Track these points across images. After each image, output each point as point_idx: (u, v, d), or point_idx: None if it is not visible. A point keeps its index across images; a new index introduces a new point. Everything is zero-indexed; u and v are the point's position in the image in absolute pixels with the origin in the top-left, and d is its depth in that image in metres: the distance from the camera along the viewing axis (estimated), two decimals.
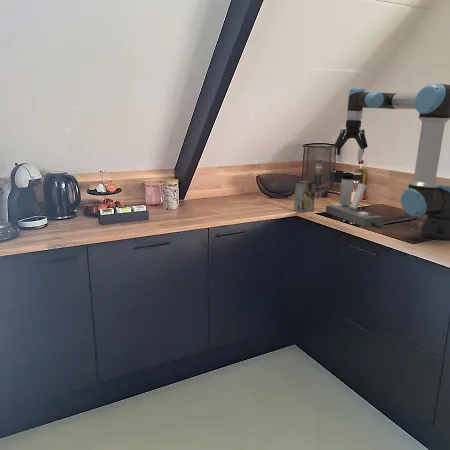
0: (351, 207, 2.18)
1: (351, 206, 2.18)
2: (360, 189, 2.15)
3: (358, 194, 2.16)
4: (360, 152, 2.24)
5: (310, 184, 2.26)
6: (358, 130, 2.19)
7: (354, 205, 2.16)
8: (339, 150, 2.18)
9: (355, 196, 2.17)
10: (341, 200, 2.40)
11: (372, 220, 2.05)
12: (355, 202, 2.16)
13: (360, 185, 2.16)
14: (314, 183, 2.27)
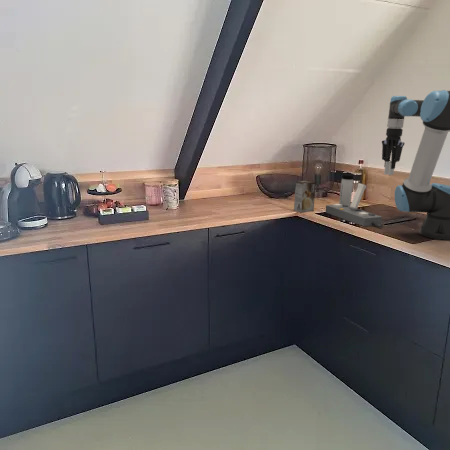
0: (351, 207, 2.18)
1: (351, 206, 2.18)
2: (360, 189, 2.15)
3: (358, 194, 2.16)
4: None
5: (310, 184, 2.26)
6: (396, 139, 2.11)
7: (354, 205, 2.16)
8: (385, 163, 2.19)
9: (355, 196, 2.17)
10: (341, 200, 2.40)
11: (372, 220, 2.05)
12: (355, 202, 2.16)
13: (360, 185, 2.16)
14: (314, 183, 2.27)
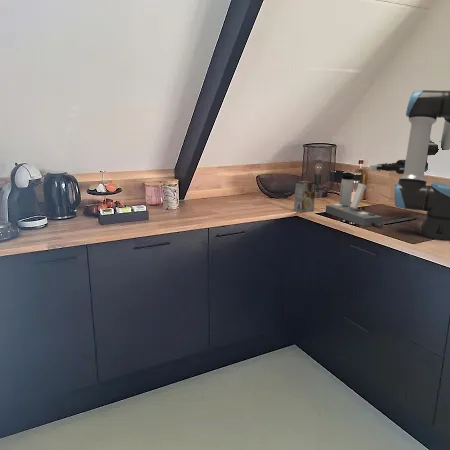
0: (351, 207, 2.18)
1: (351, 206, 2.18)
2: (360, 189, 2.15)
3: (358, 194, 2.16)
4: None
5: (310, 184, 2.26)
6: (402, 165, 2.20)
7: (354, 205, 2.16)
8: None
9: (355, 196, 2.17)
10: (341, 200, 2.40)
11: (372, 220, 2.05)
12: (355, 202, 2.16)
13: (360, 185, 2.16)
14: (314, 183, 2.27)
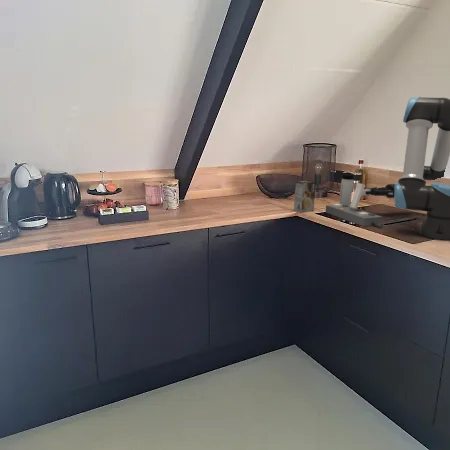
0: (351, 207, 2.18)
1: (351, 206, 2.18)
2: (359, 189, 2.15)
3: (357, 194, 2.15)
4: None
5: (310, 184, 2.26)
6: (391, 190, 2.21)
7: (354, 205, 2.16)
8: (366, 190, 2.21)
9: (354, 196, 2.17)
10: (341, 200, 2.40)
11: (372, 220, 2.05)
12: (355, 202, 2.16)
13: (359, 185, 2.15)
14: (314, 183, 2.27)
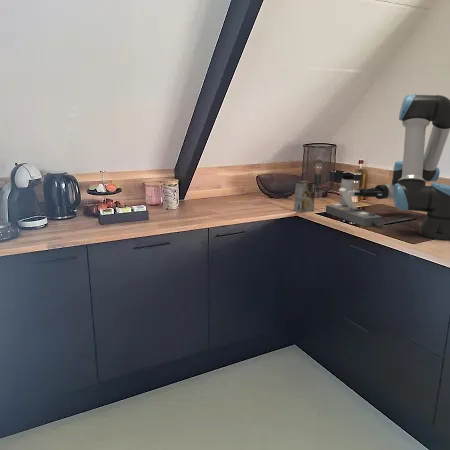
0: (351, 208, 2.18)
1: (350, 208, 2.18)
2: (344, 194, 2.12)
3: (346, 198, 2.13)
4: None
5: (310, 184, 2.26)
6: (381, 191, 2.18)
7: (352, 207, 2.16)
8: (355, 191, 2.17)
9: (346, 200, 2.15)
10: (341, 200, 2.40)
11: (372, 220, 2.05)
12: (350, 205, 2.15)
13: (341, 192, 2.12)
14: (314, 183, 2.27)
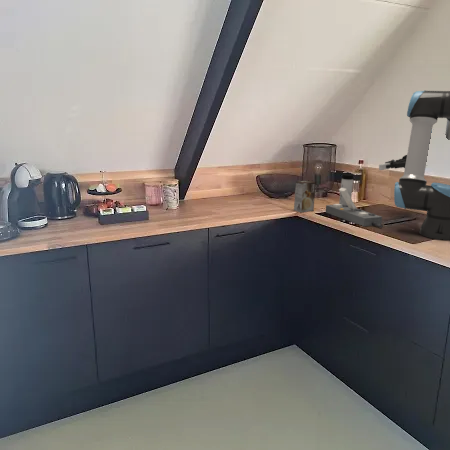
0: (351, 208, 2.18)
1: (350, 208, 2.18)
2: (344, 195, 2.12)
3: (346, 198, 2.13)
4: None
5: (310, 184, 2.26)
6: None
7: (352, 207, 2.16)
8: None
9: (346, 200, 2.15)
10: (341, 200, 2.40)
11: (372, 220, 2.05)
12: (350, 205, 2.15)
13: (341, 192, 2.12)
14: (314, 183, 2.27)
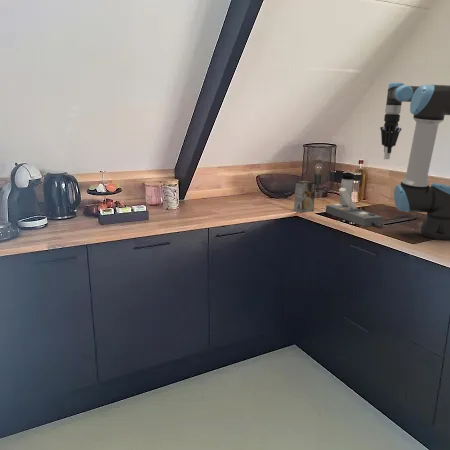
0: (351, 208, 2.18)
1: (350, 208, 2.18)
2: (344, 195, 2.12)
3: (346, 198, 2.13)
4: None
5: (310, 184, 2.26)
6: (394, 124, 2.19)
7: (352, 207, 2.16)
8: (385, 148, 2.27)
9: (346, 200, 2.15)
10: (341, 200, 2.40)
11: (372, 220, 2.05)
12: (350, 205, 2.15)
13: (341, 192, 2.12)
14: (314, 183, 2.27)
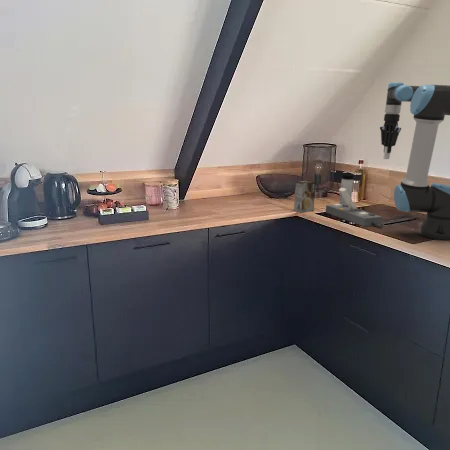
0: (351, 208, 2.18)
1: (350, 208, 2.18)
2: (344, 195, 2.12)
3: (346, 198, 2.13)
4: None
5: (310, 184, 2.26)
6: (393, 124, 2.19)
7: (352, 207, 2.16)
8: (384, 148, 2.27)
9: (346, 200, 2.15)
10: (341, 200, 2.40)
11: (372, 220, 2.05)
12: (350, 205, 2.15)
13: (341, 192, 2.12)
14: (314, 183, 2.27)
